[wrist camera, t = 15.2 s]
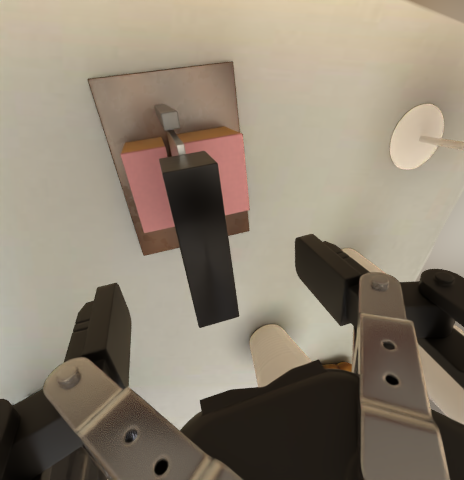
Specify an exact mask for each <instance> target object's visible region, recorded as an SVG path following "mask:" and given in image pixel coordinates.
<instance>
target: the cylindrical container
mask: <svg viewBox="0 0 464 480" xmlns="http://www.w3.org/2000/svg"><path fill="white" fill-rule="evenodd" d="M341 250H342V251H343V252H345V253H346V254H347V255H349V257H351V258H353V259H354V260H355V261H356V262H358V263H359V264H360V265H362V266H363V267H364V268H365V269H367V270H368V271H369V272H380V273H385V272H383V271H382V270H381V269H379V268H378V267H377V266H375V265H374V264H373V263H371V262H370V261H369V260H367V259H366V258H365V257H363V256H362V255H361V254H359V253H358V252H357V251H355V250H353V249H350V248H344V249H341ZM385 274H386V273H385ZM453 328H455V329H456V330H457V331H458V332H460V333H461V334H462V335H463V336H464V332H463V331H462V330H461V329H459V328H458V327H457V326H455V325H454V326H453ZM418 347H419V352H420V357H421V362H422V368H423V373H424V378H425V383H426V388H427V393H428V397H429V398H430V399H431V400H432V401H433V402H434V403H435V404H436V405H437V406H438V407H439V408H440V409H441V410H442V411H443V413H444V414H445V415H446V416H447V417H449V418H451V419H453V420H455V421H457V422H459V423H461V424H463V425H464V389H463V388H462V387H461V386H460V385H459V384H458V383H457V382H456V381H455V380H454V379H453V378H452V377H451V376H450V375H449V374H448V373H447V372H446V371H445V370H444V369H443V368H442V367H441V366H440V365H439V364H438V363H437V362H436V361H435V360H434V359H433V358H432V357H431V356H430V355H429V354H428V353H427V352H426V351H425V350H424V349H423V348H422V347H421V346H420V345H419V344H418Z"/></svg>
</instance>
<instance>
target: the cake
mask: <svg viewBox="0 0 464 480" xmlns="http://www.w3.org/2000/svg"><path fill="white" fill-rule="evenodd" d="M177 136H178V137H179V138H180V140H181V141H182V142H183V144H184V146H185V151H186V154H189V153H194V152H200V151H206V152H207V153H208V154H209V155H210V156H211V157H212V158H213V159H214V160H215V161H216V162H217V163H218V168H219V175H220V182H221V190H222V197H223V204H224V211H225V215H229V214H234V213H238V212H243V211H247V210H250V208H249V197H248V187H247V176H246V165H245V155H244V144H243V134H242V133H239V132H237V131H234V130H232V129H230V128H227V127H225V126H224V127H218V128H212V129H206V130H200V131H194V132H187V133H181V134H177ZM166 157H167V152H166V148H165V145H164V143H163V140H162V138H161V137H157V138H151V139H145V140H139V141H132V142H126V143H125V144H124V147H123V149H122V152H121V158H122V162H123V165H124V168H125V172H126V175H127V178H128V181H129V185H130V188H131V191H132V195H133V198H134V201H135V205H136V208H137V211H138V214H139V218H140V221H141V224H142V228H143V231H144V233H148V232H152V231H157V230H161V229H166V228H170V227H175V225H174V221H173V217H172V213H171V209H170V205H169V200H168V196H167V192H166V188H165V184H164V180H163V175H162V171H161V167H160V162H159V159H160V158H166Z"/></svg>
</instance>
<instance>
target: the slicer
mask: <svg viewBox="0 0 464 480" xmlns="http://www.w3.org/2000/svg"><path fill="white" fill-rule="evenodd" d="M88 82H89V86H90V89H91V92H92V95H93V98H94V101H95V104H96V108H97V111H98V114H99V117H100V120H101V123H102V126H103V130H104V133H105V136H106V139H107V142H108V145H109V148H110V152H111V155H112V158H113V161H114V164H115V167H116V170H117V174H118V177H119V180H120V183H121V186H122V189H123V192H124V196H125V199H126V202H127V205H128V208H129V211H130V214H131V218H132V221H133V224H134V227H135V230H136V233H137V236H138V240H139V243H140V246H141V249H142V252H143V255H144V256H145V255H149V254H153V253H158V252H162V251H166V250H170V249H175V248H179V247H180V246H179V242H178V238H177V234H176V230H175V227H170V228H166V229H161V230H157V231H152V232H148V233H144V231H143V228H142V224H141V221H140V218H139V214H138V211H137V208H136V205H135V201H134V198H133V195H132V191H131V188H130V185H129V181H128V178H127V175H126V172H125V168H124V165H123V162H122V158H121V152H122V149H123V147H124V144H125V143H126V142H132V141H139V140H145V139H151V138H157V137H161V138H162V140H163V143H164V145H165V148H166V152H167V157H172V155H171V150H170V145H169V141H168V136H167V132H166V131H168V130H173V131H174V132H175V133H176V134H181V133H187V132H194V131H200V130H206V129H212V128H218V127H224V126H225V127H227V128H230V129H232V130H234V131H237V132H239V133H240V129H239V119H238V108H237V98H236V88H235V78H234V67H233V62H232V61H231V62H223V63H215V64H207V65H198V66H190V67H182V68H174V69H165V70H157V71H149V72H141V73H133V74H124V75H116V76H108V77H100V78H92V79H88ZM225 218H226V225H227V232H228V236H230V235H234V234H238V233H243V232H247V231H249V221H248V211H243V212H238V213H234V214H229V215H225Z"/></svg>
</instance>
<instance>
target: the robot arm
mask: <svg viewBox="0 0 464 480" xmlns="http://www.w3.org/2000/svg"><path fill="white" fill-rule="evenodd" d="M295 267H296V272H297V274H298V276H299V278H300V279H301V280H302V282H303V283H304V284H305V285H306V286H307V287H308V289H309V290H310V291H311V292H312V293H313V294H314V296H315V297H316V298H317V299H318V300H319V302H320V303H321V304H322V305H323V306H324V307H325V309H326V310H327V311H328V312H329V313H330V314H331V316H332V317H333V318H334V319H335V320H336V321H337V323H338V324H339V325H340V326H343V325H346V324H349V323H351V324H352V325H353V326H354V329H353V349H352V372H350V371H346V370H341V369H330V368H327V369H325V368H324V367H323V365H322V364H321V362H320V361H319V360H316V361H313V362H310V363H307V364H304V365H301V366H298V367H296V368H293V369H290V370H289V371H287V372H286V373H284V374H283V375H282V376H280V377H279V378H277V379H276V380H274V381H273V382H271V383H270V384H268V385H266V386H264V387H256V388H245V389H233V390H228V391H226V392H223V393H220V394H217V395H214V396H211V397H208V398H205V399H202V400H200V404H201V410H202V411H201V412H199V413H198V414H196V415H195V416H194V417H193V418H192V419H190V420H189V421H188V422H187V423H186V424H185V425H184V427H183V428H182V429H181V430H180V431H179V430H178V429H177V428H176V427H175V426H174V425H172V424H171V423H170V422H169V421H168V420H167V419H166V418H164V417H163V416H162V415H161V414H160V413H159V412H157V411H156V410H155V409H154V408H153V407H152V406H150V405H149V404H148V403H147V402H146V401H145V400H143V399H142V398H141V397H140V396H139V395H138V394H136V393H135V392H134V391H133V390H132V389H130V388H129V387H128V386H129V365H130V344H131V317H130V313H129V310H128V307H127V305H126V302H125V300H124V297H123V295H122V292H121V290H120V287H119V285H118V284H117V283H113V284H109V285H105V286H101V287H98V288H97V290H96V294H95V299H94V301H91V302H88V303H86V304H85V305H84V306H83V308H82V309H81V310H80V311H79V313H78V316H77V319H76V322H75V323H76V325H75V326H74V329H73V333H72V336H71V340H70V343H69V346H68V350H67V353H66V357H65V360H64V363H62V364H61V365H60V366H58V367H57V368H56V369H55V370H54V371H52V372H51V374H50V375H49V376H48V378H47V379H46V381H45V383H44V386H43V389H42V390H40V391H38V392H37V393H35V394H33V395H31V396H29V397H28V398H26V399H24V400H22V401H20V402H19V403H17V404H15V405H13V406H12V405H11V404H10V402H9V401H7V400H5V399H0V480H107V479H108V480H464V425H463V424H461V423H459V422H457V421H455V420H453V419H451V418H449V417H447V416H444V415H442V414H440V413H438V412H436V411H434V410H432V409H431V408H430V403H429V398H428V393H427V388H426V383H425V378H424V373H423V368H422V362H421V357H420V352H419V347H418V344H419V345H420V346H421V347H422V348H423V349H424V350H425V351H426V352H427V353H428V354H429V355H430V356H431V357H432V358H433V359H434V360H435V361H436V362H437V363H438V364H439V365H440V366H441V367H442V368H443V369H444V370H445V371H446V372H447V373H448V374H449V375H450V376H451V377H452V378H453V379H454V380H455V381H456V382H457V383H458V384H459V385H460V386H461V387H462V388H463V389H464V336H463V335H462V334H461V333H460V332H458V331H457V330H456V329H455V328H453V326H454V323H455V321H457V322H458V323H459V324H461V325H462V326H463V327H464V278H463V277H461V276H459V275H458V274H456V273H453V272H450V271H447V270H442V269H429V270H426V271H424V272H423V273H422V274H421V278H420V281H419V282H399V281H398V280H397V279H396V278H394V277H393V276H391V275H388V274H385V273H380V272H369V271H368V270H367V269H365V268H364V267H363V266H362V265H360V264H359V263H358V262H356V261H355V260H354V259H353V258H351V257H349V255H347V254H346V253H345V252H343V251H342V250H341V249H340V248H339V247H337V246H336V245H334V244H331V243H328V242H326V241H324V242H322V241H321V240H320V239H318V238H317V237H316V236H315V235H313V234H309V235H305V236H301V237H297V238H296V240H295Z"/></svg>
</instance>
